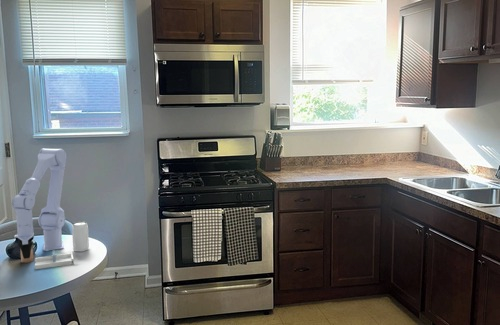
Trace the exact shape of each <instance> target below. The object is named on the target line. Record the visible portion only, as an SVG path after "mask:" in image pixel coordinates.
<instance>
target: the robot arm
mask: <svg viewBox="0 0 500 325" xmlns="http://www.w3.org/2000/svg"><path fill="white" fill-rule="evenodd" d="M67 157H68V155H67V153H66V151H65V150H64V149H63V148H45V147H43V148H40V150H39V153H38V154H37V163H36V165H35V169H34V170H33V172H32V175H31V177H30V178H28V179H26V180H25V183H24V184H23V186H22V187H21V189H20V191H19V193H18V194H16V195H15V196H14V197H13V199H12V202H11V206H12V209H14V210H13V211H14V213H15V215H16V216H15V218H16V229H17V231H16V233H17V234H15V235H14V238H15V239H16V238H17V239H18V240H19V241H18V242H17V246H18V247H19V249H21V251H22V254H23V257H24V259H26V258H30V253H31V247H32V245H34V238H35V233H34V221H33V208H34V206H35V203H36V195H37V193H38V191H39V189H40V187H41V180H42V178H43V176H44V175H45V174H46V171H47V170H48V168H49V170H50V177H49V185H48V192H47V199H46V206H44V207H43V208H41V210H40V214H39V216H38V219H37V220H38V225H39V227H41V229H42V230H43V251H45V252H46V251H47V252H48V251H53V250H55V251H56V250H63V249H64V242H63V237H62V233H63V232H62V228H63V226H64V225H65V223H66V216H65V213H66V212H65V210H64V209H63V208H62V207H61V198H62V192H63V184H64V183H63V182H64V175H65V168H66V166H67ZM21 251H20V252H21Z"/></svg>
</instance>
